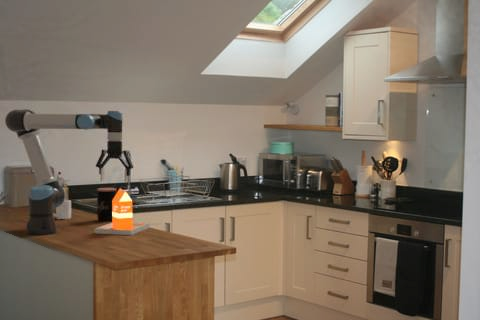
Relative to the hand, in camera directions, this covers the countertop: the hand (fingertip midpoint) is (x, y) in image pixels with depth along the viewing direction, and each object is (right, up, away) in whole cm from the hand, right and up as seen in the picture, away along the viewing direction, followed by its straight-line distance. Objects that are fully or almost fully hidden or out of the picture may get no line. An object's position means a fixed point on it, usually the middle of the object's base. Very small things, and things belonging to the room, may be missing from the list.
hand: (114, 181), depth 360 cm
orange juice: (+4, -25, 0) cm, 25 cm away
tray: (+4, -25, 0) cm, 26 cm away
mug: (-38, -23, +38) cm, 58 cm away
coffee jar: (-10, -23, +32) cm, 41 cm away
